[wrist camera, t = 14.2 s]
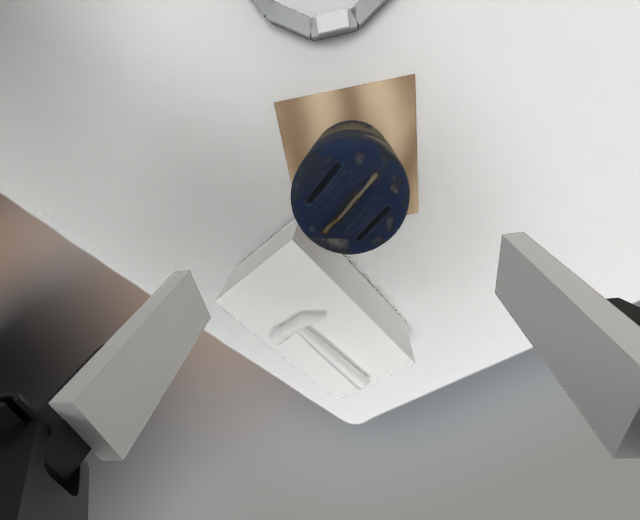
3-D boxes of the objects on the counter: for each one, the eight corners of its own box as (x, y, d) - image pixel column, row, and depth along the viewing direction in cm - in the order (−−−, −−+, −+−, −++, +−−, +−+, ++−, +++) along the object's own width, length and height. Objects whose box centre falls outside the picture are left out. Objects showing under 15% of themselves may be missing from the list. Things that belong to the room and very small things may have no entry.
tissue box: (302, 211, 41) (288, 249, 32) (405, 321, 50) (418, 377, 40) (235, 267, 47) (207, 313, 38) (338, 357, 55) (335, 413, 46)
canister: (403, 169, 37) (441, 224, 22) (341, 211, 41) (336, 285, 25) (360, 100, 34) (368, 106, 19) (297, 152, 38) (258, 195, 22)
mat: (302, 226, 43) (301, 228, 43) (274, 102, 36) (273, 102, 35) (417, 211, 41) (418, 212, 40) (414, 74, 33) (415, 74, 33)
